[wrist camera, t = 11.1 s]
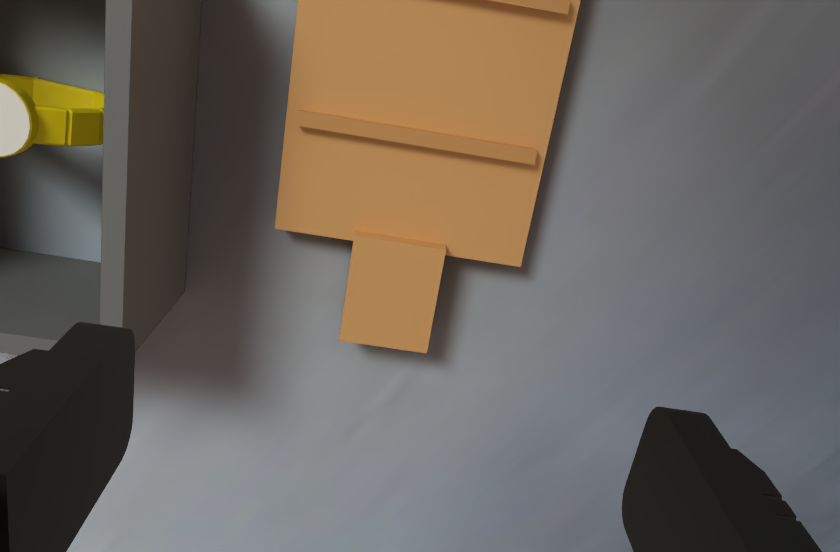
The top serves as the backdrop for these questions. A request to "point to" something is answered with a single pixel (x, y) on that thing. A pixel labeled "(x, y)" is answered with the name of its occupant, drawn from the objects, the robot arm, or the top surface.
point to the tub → (123, 190)
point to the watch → (47, 114)
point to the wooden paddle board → (418, 143)
